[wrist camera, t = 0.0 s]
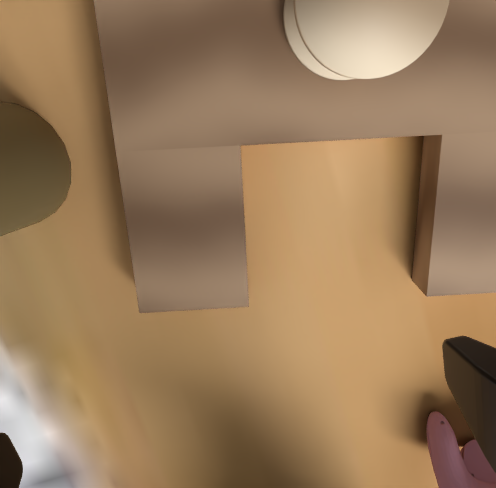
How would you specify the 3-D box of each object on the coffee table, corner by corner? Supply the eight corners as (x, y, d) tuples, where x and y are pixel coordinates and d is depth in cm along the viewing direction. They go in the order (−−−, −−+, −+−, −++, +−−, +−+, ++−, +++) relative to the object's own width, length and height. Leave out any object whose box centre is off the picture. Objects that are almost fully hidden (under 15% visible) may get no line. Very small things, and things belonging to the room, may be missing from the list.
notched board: (511, 274, 24) (594, 331, 19) (146, 295, 24) (120, 359, 19) (567, -69, 19) (708, -133, 13) (99, -46, 19) (41, -102, 13)
